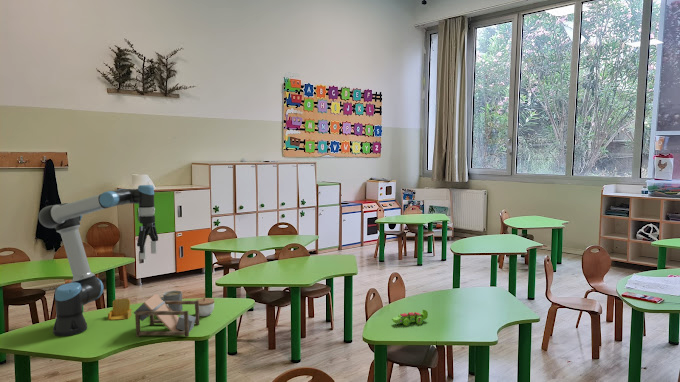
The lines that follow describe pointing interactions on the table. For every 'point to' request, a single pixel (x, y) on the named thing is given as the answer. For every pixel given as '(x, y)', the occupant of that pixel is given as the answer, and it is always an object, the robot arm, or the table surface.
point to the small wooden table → (159, 305)
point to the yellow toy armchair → (120, 310)
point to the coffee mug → (173, 299)
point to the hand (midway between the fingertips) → (148, 256)
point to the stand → (152, 313)
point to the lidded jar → (205, 306)
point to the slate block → (181, 322)
